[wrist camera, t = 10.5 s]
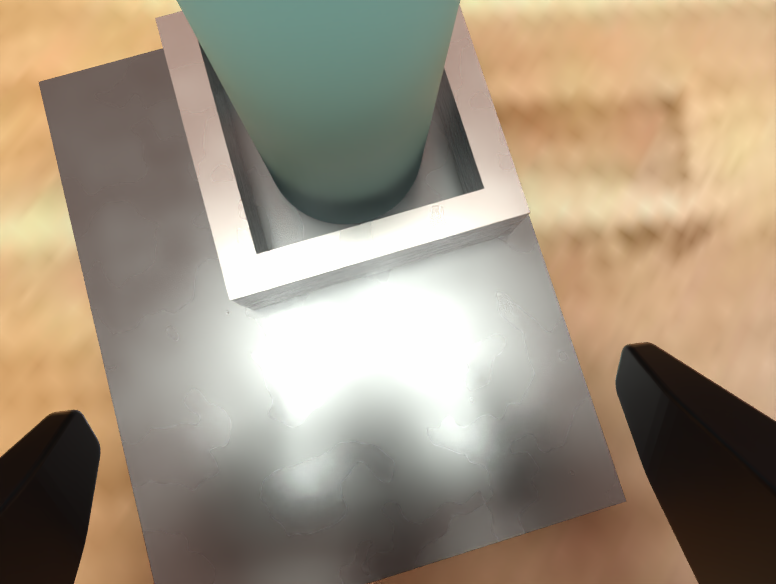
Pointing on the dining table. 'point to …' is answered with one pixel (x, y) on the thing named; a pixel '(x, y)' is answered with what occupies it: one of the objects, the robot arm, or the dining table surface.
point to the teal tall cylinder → (331, 92)
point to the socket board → (318, 337)
